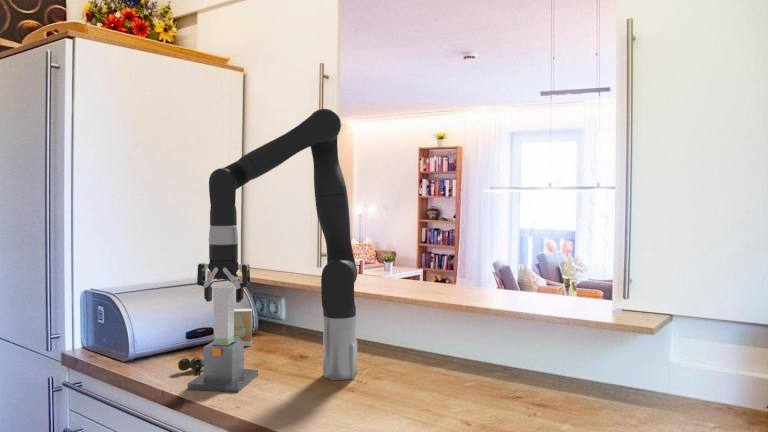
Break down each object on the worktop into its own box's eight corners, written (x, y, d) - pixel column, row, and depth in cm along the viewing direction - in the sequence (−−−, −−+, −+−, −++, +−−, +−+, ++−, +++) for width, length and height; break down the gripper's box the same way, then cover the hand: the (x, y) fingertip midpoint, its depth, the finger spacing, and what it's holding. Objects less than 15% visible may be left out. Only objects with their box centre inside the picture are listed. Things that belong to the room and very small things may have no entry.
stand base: (258, 375, 156) (257, 338, 156) (238, 392, 142) (238, 351, 142) (211, 372, 158) (211, 336, 158) (187, 389, 144) (187, 349, 144)
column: (234, 351, 152) (233, 286, 151) (227, 355, 148) (227, 288, 147) (220, 350, 152) (219, 285, 152) (213, 354, 148) (213, 288, 148)
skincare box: (232, 347, 185) (232, 311, 185) (233, 343, 190) (233, 308, 189) (251, 346, 187) (251, 310, 186) (252, 342, 191) (252, 308, 190)
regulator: (229, 367, 166) (177, 363, 161) (232, 356, 164) (179, 352, 160) (229, 383, 159) (175, 379, 154) (232, 372, 158) (177, 367, 153)
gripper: (253, 241, 152) (253, 299, 152) (205, 240, 154) (205, 298, 154) (243, 243, 144) (243, 305, 145) (192, 242, 146) (192, 303, 147)
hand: (223, 301), depth 149 cm, fingers open, 8 cm apart
